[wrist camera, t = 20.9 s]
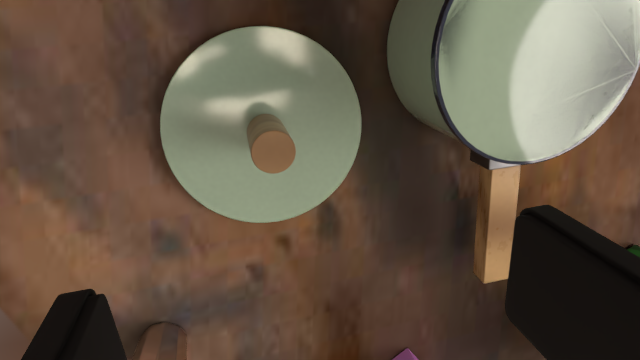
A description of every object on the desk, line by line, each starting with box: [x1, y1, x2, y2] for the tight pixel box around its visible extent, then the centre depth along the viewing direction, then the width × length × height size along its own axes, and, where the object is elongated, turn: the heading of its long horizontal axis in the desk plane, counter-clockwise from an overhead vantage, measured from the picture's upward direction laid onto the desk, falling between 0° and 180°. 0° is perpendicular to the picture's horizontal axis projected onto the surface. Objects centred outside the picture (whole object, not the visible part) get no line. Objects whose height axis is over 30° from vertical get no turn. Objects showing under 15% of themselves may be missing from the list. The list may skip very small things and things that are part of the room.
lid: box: [160, 26, 361, 223], centre depth 25 cm, size 13×13×5 cm
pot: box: [387, 0, 640, 283], centre depth 26 cm, size 22×12×7 cm, turn 4°
